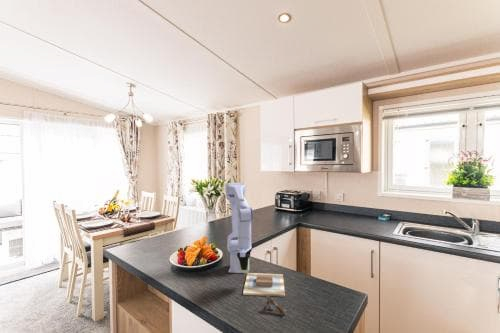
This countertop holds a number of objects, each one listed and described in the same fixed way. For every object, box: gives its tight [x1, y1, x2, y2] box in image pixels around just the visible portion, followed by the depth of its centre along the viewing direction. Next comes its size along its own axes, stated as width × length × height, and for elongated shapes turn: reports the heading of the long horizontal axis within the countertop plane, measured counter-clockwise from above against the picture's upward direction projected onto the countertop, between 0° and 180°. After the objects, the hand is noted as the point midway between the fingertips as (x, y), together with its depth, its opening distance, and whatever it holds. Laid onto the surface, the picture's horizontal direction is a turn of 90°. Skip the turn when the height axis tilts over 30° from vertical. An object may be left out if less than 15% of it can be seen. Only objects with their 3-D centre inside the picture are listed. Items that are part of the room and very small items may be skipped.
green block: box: [238, 258, 250, 274], centre depth 104 cm, size 4×4×5 cm
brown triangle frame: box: [264, 296, 287, 317], centre depth 87 cm, size 2×8×4 cm, turn 53°
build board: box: [242, 272, 286, 298], centre depth 106 cm, size 18×17×3 cm
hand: (244, 267), depth 104 cm, fingers closed on green block, 4 cm apart
